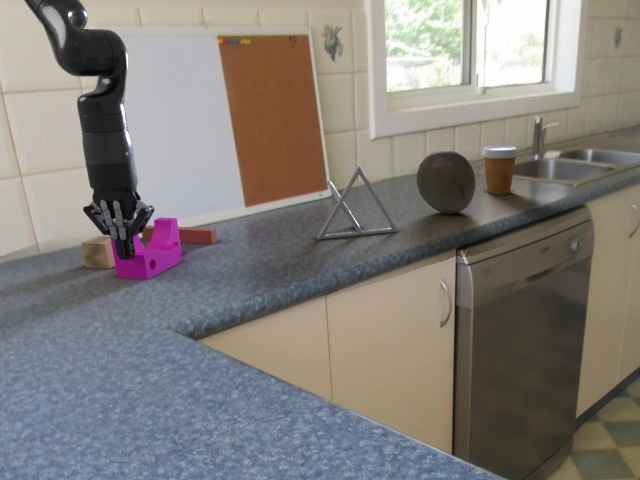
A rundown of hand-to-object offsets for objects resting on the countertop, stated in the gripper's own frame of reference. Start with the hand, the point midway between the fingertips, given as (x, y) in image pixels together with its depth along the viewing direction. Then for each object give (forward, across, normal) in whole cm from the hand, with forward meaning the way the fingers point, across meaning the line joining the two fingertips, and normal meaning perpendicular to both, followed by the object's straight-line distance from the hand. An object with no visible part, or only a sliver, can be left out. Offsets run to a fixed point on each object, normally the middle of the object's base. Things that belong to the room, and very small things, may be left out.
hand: (126, 258), depth 116 cm
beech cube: (+4, +11, -8) cm, 14 cm away
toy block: (+4, 0, -9) cm, 10 cm away
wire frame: (+4, -28, -40) cm, 49 cm away
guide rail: (+4, +6, -25) cm, 26 cm away
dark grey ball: (+4, -45, -60) cm, 75 cm away
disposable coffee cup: (+4, -55, -87) cm, 103 cm away
